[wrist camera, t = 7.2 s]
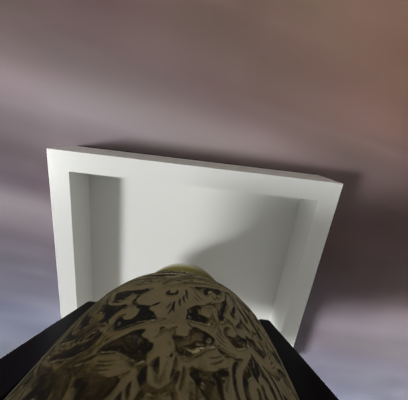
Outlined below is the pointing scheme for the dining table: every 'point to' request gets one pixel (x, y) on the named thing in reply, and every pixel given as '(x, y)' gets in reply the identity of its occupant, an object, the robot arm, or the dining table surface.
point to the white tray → (188, 227)
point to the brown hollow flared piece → (162, 346)
